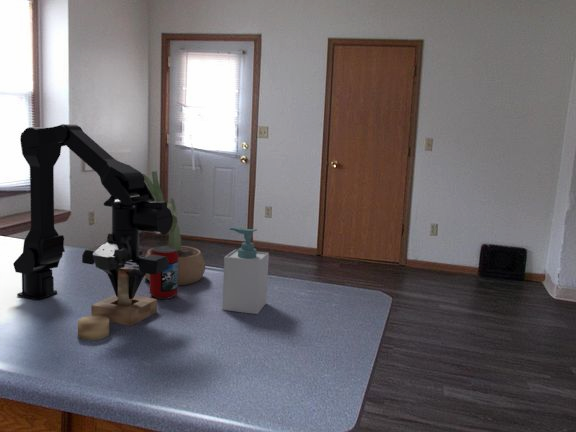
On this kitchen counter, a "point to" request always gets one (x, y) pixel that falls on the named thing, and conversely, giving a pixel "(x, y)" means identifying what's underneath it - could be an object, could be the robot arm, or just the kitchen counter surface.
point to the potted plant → (178, 242)
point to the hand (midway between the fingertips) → (124, 297)
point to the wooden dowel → (123, 287)
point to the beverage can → (165, 274)
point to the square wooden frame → (125, 309)
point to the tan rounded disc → (93, 327)
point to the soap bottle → (245, 277)
